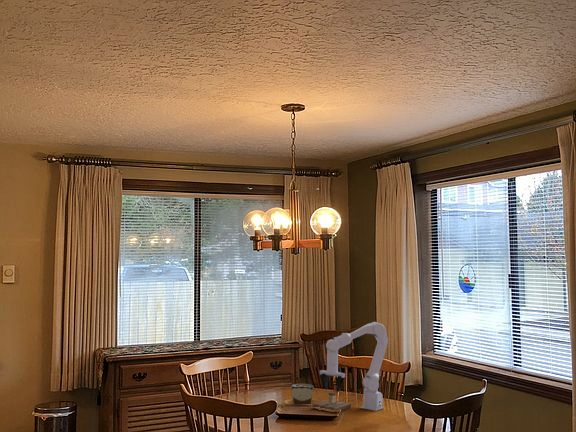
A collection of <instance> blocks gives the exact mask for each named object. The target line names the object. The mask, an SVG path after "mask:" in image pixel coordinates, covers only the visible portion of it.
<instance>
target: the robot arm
mask: <svg viewBox="0 0 576 432" xmlns="http://www.w3.org/2000/svg"><path fill="white" fill-rule="evenodd" d="M365 334H367V335H368V334H369V335H373V336H374V338H375V340H376V346H375V350H374V353H373V357H372V360H371V362H370V366H369V369H368V371H367V373H366V375H365V376H364V378H363V379H362V386H363V387H364V388H363V405H362V406H360V407H359V408H360V409H363V410H368V411H374V412H375V411H376V412H377V411H380V410H383V409H384V407H383V400H384V399H383V393H382V392H380V391H378V390H379V387H380V383H379V381H380V375H379V374H380V370H381V368H382V364H383V360H384V357H385V353H386V350H387V348H388V343H389V338H388V335H387V328H386V327H385V326H384V324H383V323H379V322H377V321H372V322H369V323H367V324H365V325H363V326H361V327H359V328H357V329H356V330H354V331H352V332H350V333H348V332H342V333H341V334H340V335H338V336H335V337H333V339H328V340H327V341H326V344H325V347H326V352H327V353H326V369H325V370H323V369H321V370H319V377H320V379H321V382H322V384H323V389H324V390H328V388H329V379H330V377H335V379H334V380H335V384H336V385H335V386H336V387H335V388H336V393H337V392H340V391H341V388H342V384H343V383H344V380H345V378H346V373H344V372H340V371H339V350H340V349H341V348H343V347H345V346H348V345H349V344H351V343H352V341H353V339H354V340H355V339H356V338H359V337H362V336H363V335H365Z"/></svg>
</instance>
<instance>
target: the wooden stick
mask: <svg viewBox="0 0 576 432" xmlns="http://www.w3.org/2000/svg"><path fill="white" fill-rule="evenodd" d="M328 400H329V405H335V401H336V392H333V391H332V392H328Z"/></svg>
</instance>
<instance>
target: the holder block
mask: <svg viewBox="0 0 576 432" xmlns="http://www.w3.org/2000/svg"><path fill="white" fill-rule="evenodd" d="M313 407H320V408H325V409H331V410H335V411H336V410H339V409H341V412H344V411H345V412H346V411H348V410H351V408H352V405H351V403H349V402H345V401H338V400H335V405H329V399H327V400H322V401H318V402H316V403H312V408H313ZM341 412H340V413H341Z"/></svg>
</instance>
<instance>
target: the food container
mask: <svg viewBox="0 0 576 432" xmlns="http://www.w3.org/2000/svg"><path fill="white" fill-rule="evenodd" d="M290 390H291V393H292V394H291V395H292V403H293V404H311V405H312V402H313V394H314V391H315V387H314V385H312V384H311V383H309V384H308V383H294V384H292V385H291V387H290Z"/></svg>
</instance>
